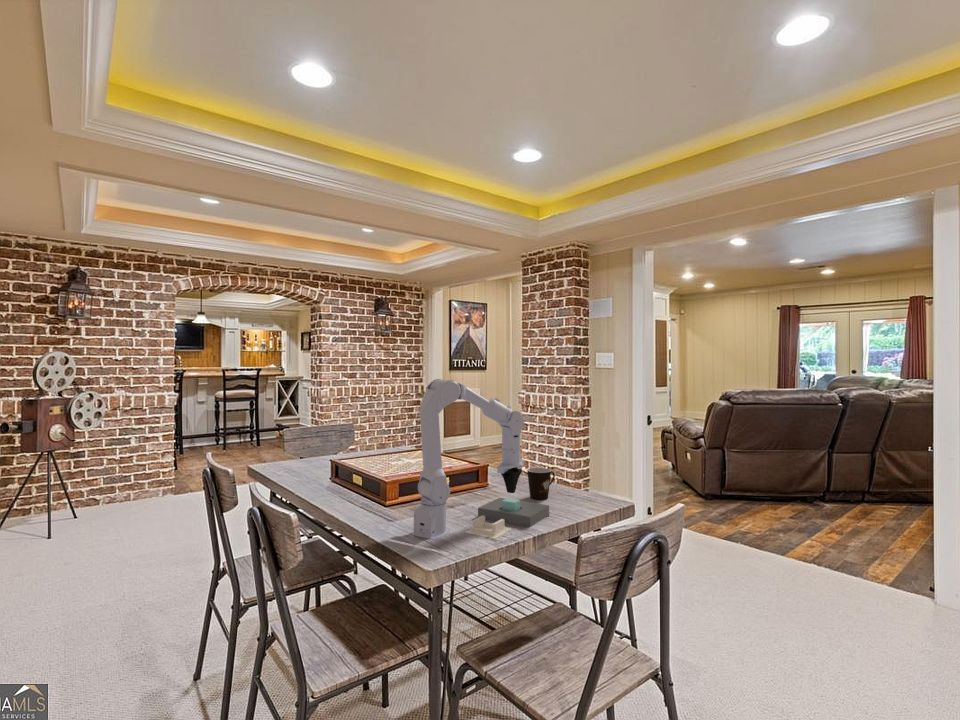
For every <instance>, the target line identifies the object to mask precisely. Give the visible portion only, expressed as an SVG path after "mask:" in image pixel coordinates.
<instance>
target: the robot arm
mask: <svg viewBox="0 0 960 720" xmlns="http://www.w3.org/2000/svg"><path fill="white" fill-rule="evenodd" d="M457 400H463V401H466V402H467V403H469V404H471V405H473V406H475V407H477V408H479V409H481V411H482V414H483V415H484V416H485V417H487V418H488V419H491V420H493V421H494V422H496V423H498V424H499V426H500V427H501V429H502V430H501V449H502V450H501V462H500V464H499V465H497V466H496V474H500V475H501V476H502V478H503V481H504V484H505V489H506V493H507V494H508V493H509V494H514V493H516V489H517V486H518V482H519V478H520V476H521V474H522V472H523V469H522V468H521V467H524V466H525V459H522V458H521V433H522V430H523V427H524V425H525V419H524V417H523V415H522V412H519V411H518V410H512V406H510V405H505V404H503V403H502V402H501V400H500V399H498V398H489V399H486V398H485V397H483V396H482V395H481V394H479V393H478V392H476V391H474V390H473V389H471V388H470V387H468V386H466V385H465V384H463V383H461V382H457V381H456V380H454V379H441V378H435V379H433V380H432V381H431V382H429V384H427V386H426V387H425V393H424V395H423V398H422V400H421V403H420V405H419V421H420V434H421V435H420V437H421V451H422V452H421V453H422V465H423V466H422V467H423V469H422V470H421V471H420V473H419V481H418V483H417V491H418V493H419V495H420V496H421V498H420V505H419V506H418V507H417V508H415V510H414V512H413V532H412V533H410V535H411V536H415V537H420V538H425V539H430V540H435V539H438V538H439V537H441V536H444V535H445V534H446V535H447V533H450V532H452V531H453V529H452V528H447V501H448V499H449V498H450V495H451V489H450V486H449V484H448V481H447V476H446V475H447V474H446V473H445V472H444V470H443V461H442V445H441V432H440V429H441V428H440V416H439V415H440V413H441V412H442V411H443V410H444V408H446V407H447V406H449V405H451V404H452V403H455V402H456V401H457Z"/></svg>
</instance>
